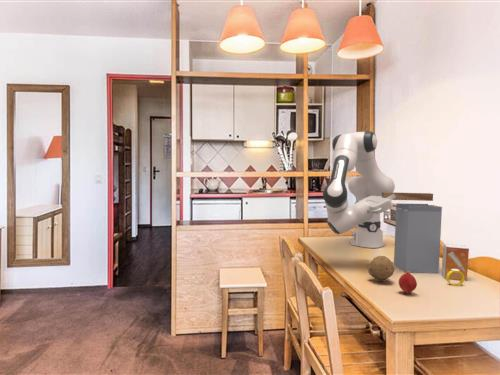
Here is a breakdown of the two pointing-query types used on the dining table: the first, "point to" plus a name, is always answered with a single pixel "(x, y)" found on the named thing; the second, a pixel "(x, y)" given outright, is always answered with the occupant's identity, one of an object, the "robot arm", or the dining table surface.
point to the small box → (455, 261)
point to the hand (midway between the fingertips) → (392, 195)
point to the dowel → (410, 196)
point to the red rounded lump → (407, 282)
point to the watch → (452, 272)
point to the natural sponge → (381, 268)
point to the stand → (417, 238)
